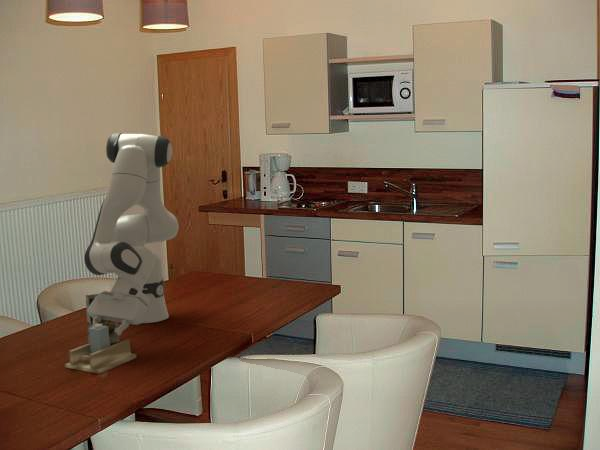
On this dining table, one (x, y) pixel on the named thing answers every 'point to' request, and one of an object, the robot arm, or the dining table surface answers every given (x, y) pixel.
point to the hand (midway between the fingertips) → (105, 332)
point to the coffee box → (101, 322)
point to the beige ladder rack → (100, 357)
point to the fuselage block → (99, 337)
